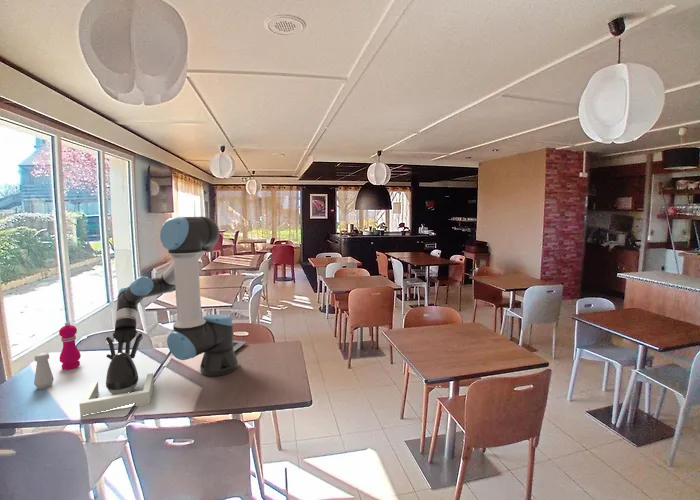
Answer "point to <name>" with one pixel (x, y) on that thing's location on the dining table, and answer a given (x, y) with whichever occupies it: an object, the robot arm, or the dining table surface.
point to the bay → (115, 398)
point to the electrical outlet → (238, 344)
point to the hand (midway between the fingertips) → (121, 376)
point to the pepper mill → (69, 347)
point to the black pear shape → (121, 374)
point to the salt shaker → (43, 372)
